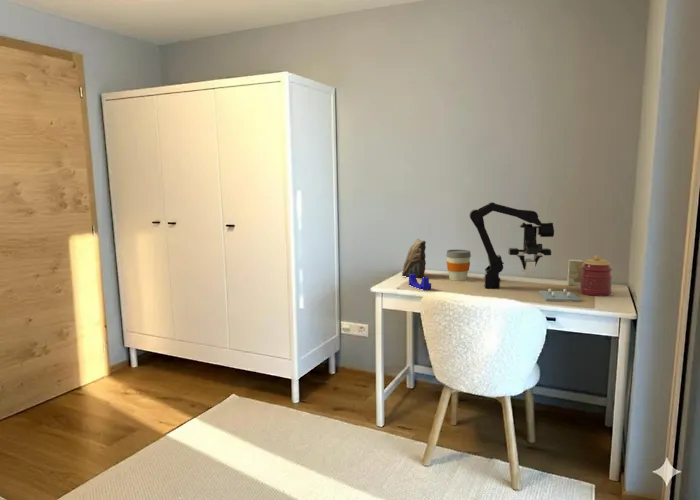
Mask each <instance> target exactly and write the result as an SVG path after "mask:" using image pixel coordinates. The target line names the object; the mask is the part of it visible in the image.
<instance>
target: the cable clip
mask: <svg viewBox="0 0 700 500" xmlns="http://www.w3.org/2000/svg"><path fill="white" fill-rule="evenodd" d="M424 277H425V278H422V279H421V282H420V283H419V282H418V279H416V274H409V278H408V286H409V285H411V286H413V287H412V288H414V287H416V288H415V289H417V288H419V289H418V290H420V289H423V290H422V291H428V290H427V289H431V290H432V283H430V278H429V277H427V276H424Z"/></svg>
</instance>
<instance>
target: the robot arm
mask: <svg viewBox="0 0 700 500" xmlns="http://www.w3.org/2000/svg"><path fill="white" fill-rule="evenodd" d="M492 212H496V213H500V214H504V215H508V216H512V217H516V218H518V219H521V220H523V222H522V223H521V224H520V225H519V227H520V228H523V248H522V249H520V248H518V247H509V248H508V255H510V256H516V257H518V258H519V260H520V262H521V263H520V264H521V266H522V270H523V269H524V270H525V260H524V259H525V255H524V254H526V255H533V260H534V261H535V268H536V266H537V264H538V261H539V260H540V258H543V257H544V256H552V250H551V249H550V248H548V247H543V244H542V243H537V235H538V236H539V237H540V238H553V237H554V236H555V229H554V228H555V227H554V223H553V222H542V221H541V220H540V219H539V215H538V212H537V211H534V210H532V209H518V208H514V207H509V206H506V205H502V204H498V203H495V202H493V201H491V202H489V203H487V204H485V205H483V206H482V207H480V208H478V209H474V208H473V209H471V211H470V212H469V216H468V217H469V219H470V220H471V222H472V223H473V225H474V226H475V228H476V230H477V233H478V234H479V238H480V239H481V242H482V245H483V246H484V250H485V253H486V254H487V260H488V266H487V267H485V268H484V271H485V274H484V284H483V286H484V289H500V287H501V278H500V275H499V274H500V273H501V272H502V271H503V270H504V265H505V263H504V262H503V260H502V256H501V255H500V254H498V255H497V253H496V251H495V249H494V246H493V244H492V242H491V239H490V237H489V233H488V231H487V230H486V229H487V228H486V227H485V221H484V220H485V219H484V217H485V216H487V215H489V214H490V213H492ZM524 221H525V222H527V223H525V222H524ZM533 224H534V225H533Z"/></svg>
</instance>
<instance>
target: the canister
mask: <svg viewBox="0 0 700 500" xmlns="http://www.w3.org/2000/svg"><path fill="white" fill-rule="evenodd" d="M611 264H612V263H611V262H610V261H608V260H607V259H603V258H601V256H600V255H599V254H596V255H594V256H593V258H588V259H586V260H583V266H581V268H582V273H581V274H580V275H581V282H580V286H579V292H580V293H581V294H583V295H587V296H592V297H593V296H594V297H608V296H610V295H611V293H612V278H613V275H612V271H613V267H612V266H611Z"/></svg>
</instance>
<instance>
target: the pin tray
mask: <svg viewBox="0 0 700 500" xmlns="http://www.w3.org/2000/svg"><path fill="white" fill-rule="evenodd" d="M538 294H539V295H540V296H541V298H543V299H544V300H545V301H546V302H564V301H572V302H573V303H575V302H576V303H581V302H582V299H581V298H580V297H578V295H576V294H575V293H574V292H573V291H570V290H569V291H567V288H563V291H562V290H552V288H548V290H538Z"/></svg>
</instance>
